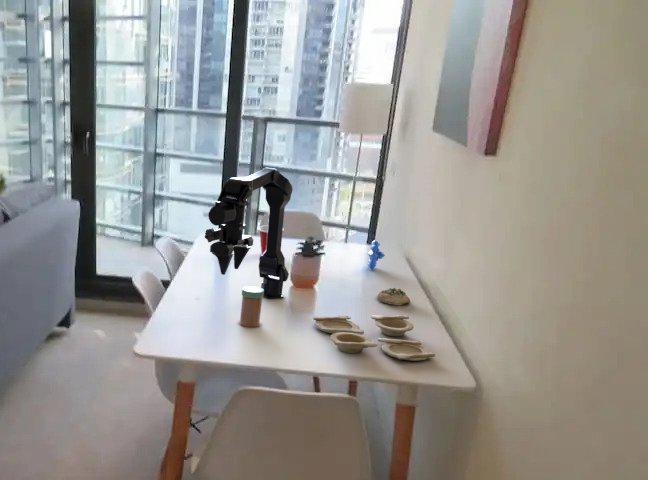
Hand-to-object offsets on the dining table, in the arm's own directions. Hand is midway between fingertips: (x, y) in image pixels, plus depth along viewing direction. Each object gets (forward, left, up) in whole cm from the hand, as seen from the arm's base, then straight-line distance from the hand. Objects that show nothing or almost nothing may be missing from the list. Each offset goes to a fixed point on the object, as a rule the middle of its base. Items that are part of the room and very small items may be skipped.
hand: (229, 271), depth 224 cm
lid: (-4, +11, -3) cm, 12 cm away
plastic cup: (-48, -71, -14) cm, 87 cm away
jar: (-4, +11, -14) cm, 18 cm away
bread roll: (-65, -4, -14) cm, 66 cm away
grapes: (-83, -45, -14) cm, 95 cm away
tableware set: (-34, +31, -14) cm, 48 cm away
